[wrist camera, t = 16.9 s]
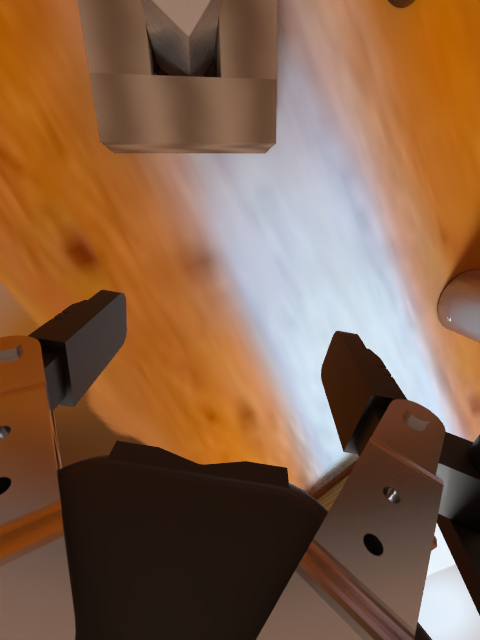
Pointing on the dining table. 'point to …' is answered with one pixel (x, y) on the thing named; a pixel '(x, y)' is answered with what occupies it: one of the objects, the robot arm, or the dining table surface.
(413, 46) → the dining table surface
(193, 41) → the square bit
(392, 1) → the round bit
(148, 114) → the socket block
